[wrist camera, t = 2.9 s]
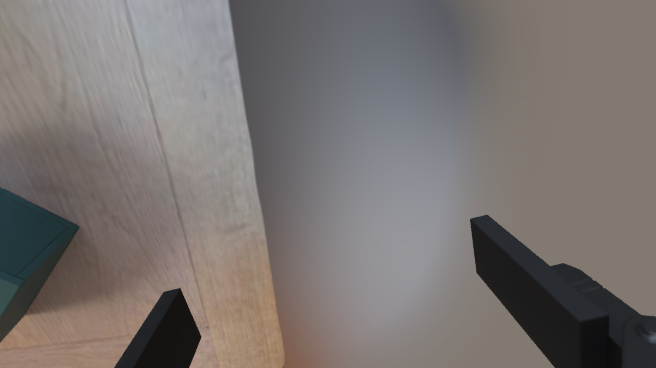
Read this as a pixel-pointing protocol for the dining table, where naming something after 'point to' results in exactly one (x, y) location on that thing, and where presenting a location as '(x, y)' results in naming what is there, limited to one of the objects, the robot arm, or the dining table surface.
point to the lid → (8, 291)
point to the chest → (29, 250)
